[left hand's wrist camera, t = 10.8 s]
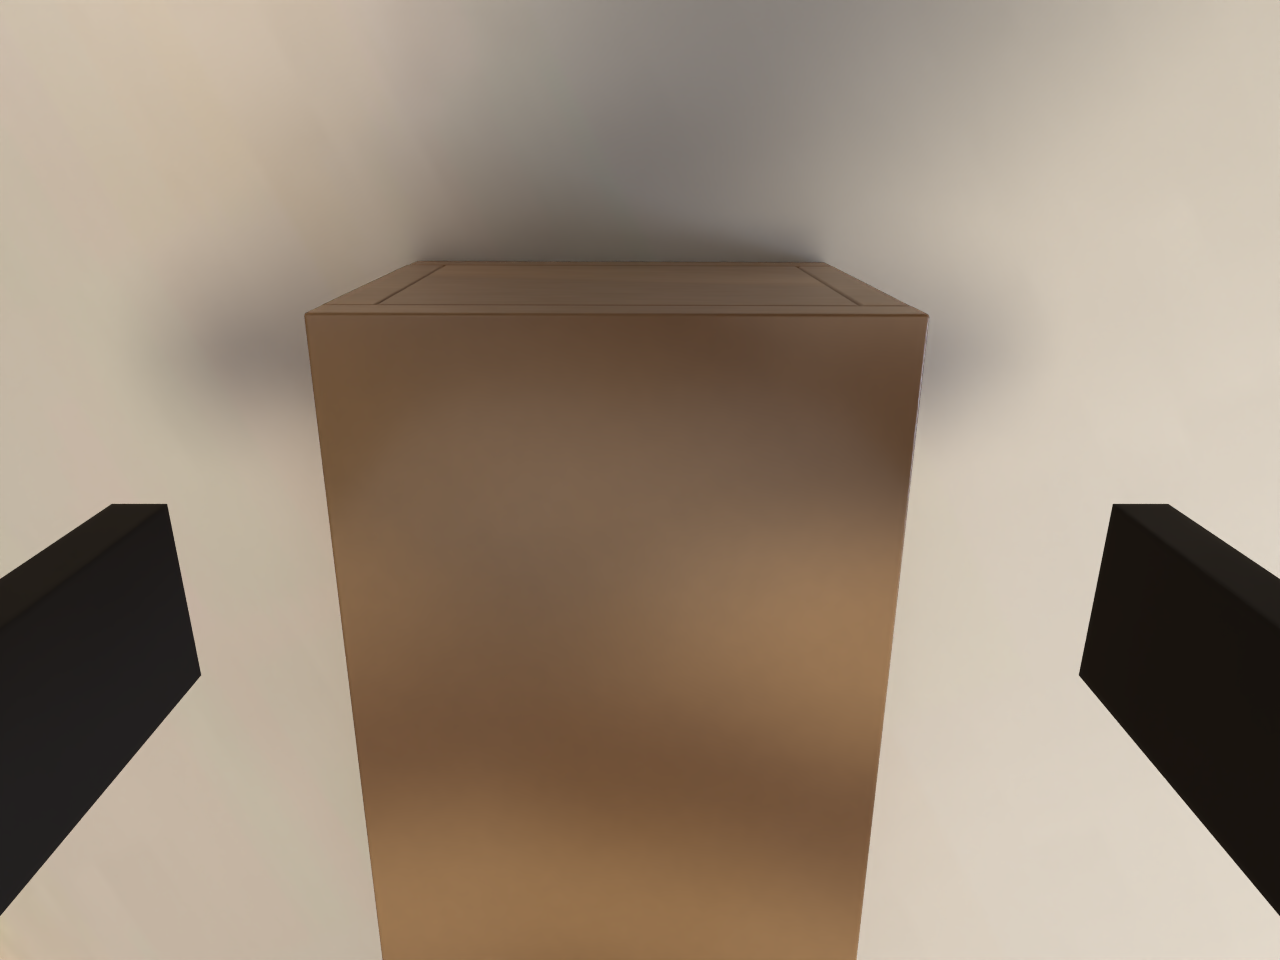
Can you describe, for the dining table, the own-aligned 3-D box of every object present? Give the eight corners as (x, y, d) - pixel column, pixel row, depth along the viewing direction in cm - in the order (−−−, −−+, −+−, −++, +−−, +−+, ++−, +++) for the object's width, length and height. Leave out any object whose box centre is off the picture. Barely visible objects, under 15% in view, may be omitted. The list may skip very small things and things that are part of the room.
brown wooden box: (783, 854, 29) (840, 1107, 21) (461, 857, 29) (400, 1112, 21) (826, 262, 22) (930, 314, 15) (414, 260, 22) (302, 312, 15)
